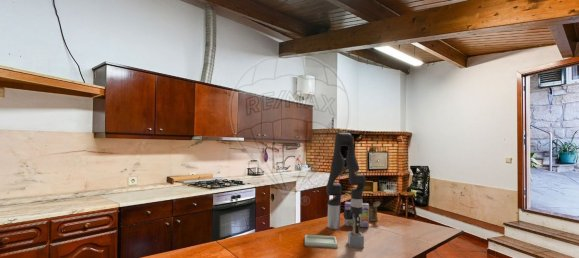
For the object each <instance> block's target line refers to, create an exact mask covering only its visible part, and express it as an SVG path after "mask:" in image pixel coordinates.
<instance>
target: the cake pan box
mask: <svg viewBox="0 0 579 258" xmlns="http://www.w3.org/2000/svg"><path fill="white" fill-rule="evenodd" d="M369 206H370V205H369V203H366V202H365V203H363V212H362V214H359V217H360V227H361V228H369V227H370V221H369ZM350 207H351V201H345V202H344V211H343V219H344V226H350V227H353V221H352V220H353V213H351V212H350ZM360 227H359V228H360Z"/></svg>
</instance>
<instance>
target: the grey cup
mask: <svg viewBox="0 0 579 258" xmlns="http://www.w3.org/2000/svg"><path fill="white" fill-rule="evenodd" d="M347 244H348V246H349V248H355V247H356V248H357V249H358V248H359V249H361V248H362V249H364V248H365V247H364V245H365V236H364V234H363V232H361V231H359V235H353V231H351V230H350V231H348V232H347Z"/></svg>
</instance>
